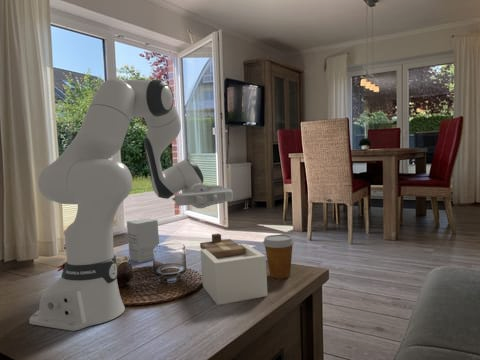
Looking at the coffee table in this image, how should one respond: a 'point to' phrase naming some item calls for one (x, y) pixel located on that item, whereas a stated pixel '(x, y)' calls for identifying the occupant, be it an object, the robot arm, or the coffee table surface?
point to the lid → (222, 247)
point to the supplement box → (142, 239)
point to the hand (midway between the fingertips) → (209, 199)
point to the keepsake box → (234, 276)
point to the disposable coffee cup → (279, 255)
